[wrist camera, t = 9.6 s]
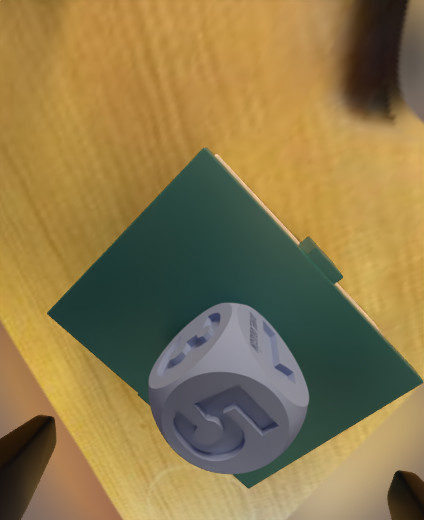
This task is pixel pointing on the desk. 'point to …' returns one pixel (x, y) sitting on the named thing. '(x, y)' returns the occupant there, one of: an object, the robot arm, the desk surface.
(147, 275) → the box
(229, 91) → the desk surface
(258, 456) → the decorative dice
